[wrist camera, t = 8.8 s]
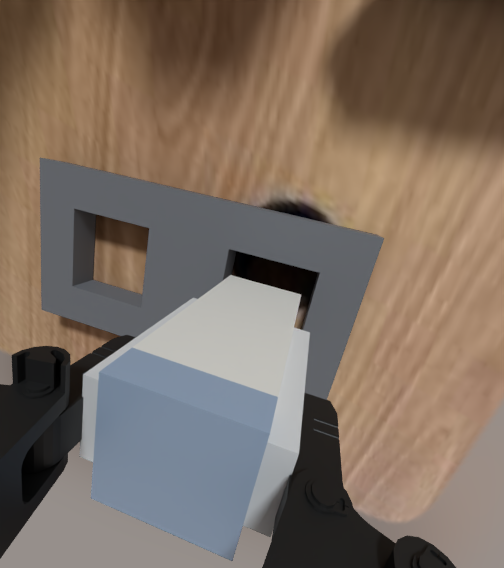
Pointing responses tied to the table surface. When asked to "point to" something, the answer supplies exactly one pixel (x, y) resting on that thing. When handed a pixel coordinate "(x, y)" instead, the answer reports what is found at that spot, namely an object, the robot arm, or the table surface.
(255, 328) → the plug
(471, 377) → the table surface
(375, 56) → the table surface
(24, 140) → the table surface
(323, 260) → the faceplate
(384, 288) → the table surface
